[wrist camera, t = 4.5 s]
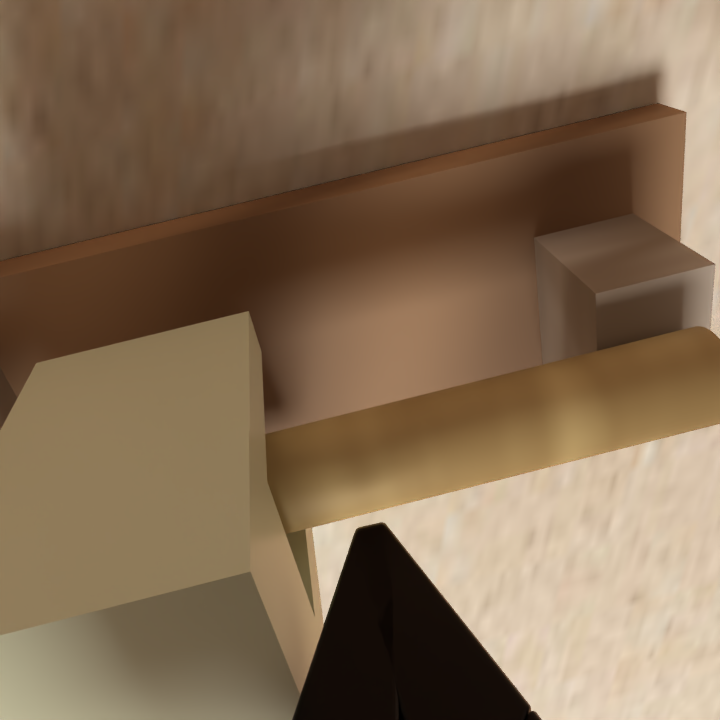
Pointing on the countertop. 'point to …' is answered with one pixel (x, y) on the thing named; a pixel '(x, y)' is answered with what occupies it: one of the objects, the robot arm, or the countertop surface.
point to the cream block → (150, 538)
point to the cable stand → (421, 312)
